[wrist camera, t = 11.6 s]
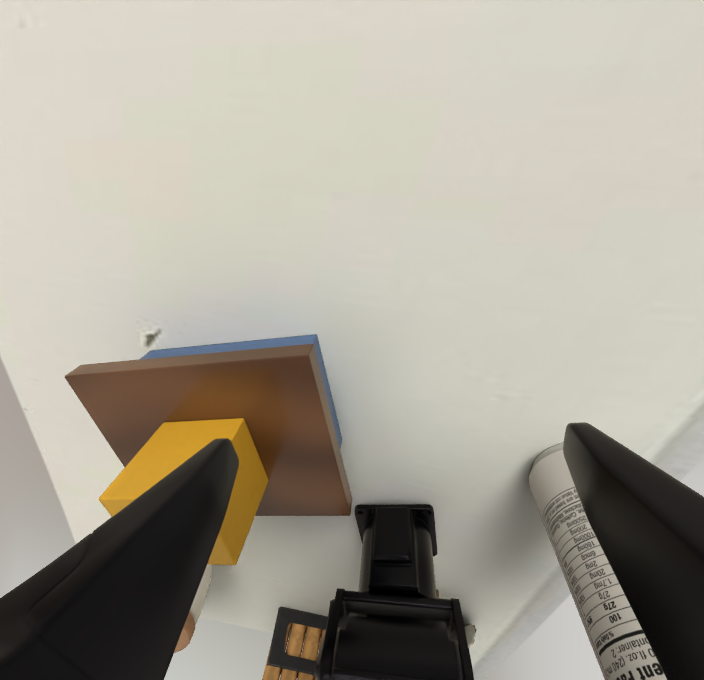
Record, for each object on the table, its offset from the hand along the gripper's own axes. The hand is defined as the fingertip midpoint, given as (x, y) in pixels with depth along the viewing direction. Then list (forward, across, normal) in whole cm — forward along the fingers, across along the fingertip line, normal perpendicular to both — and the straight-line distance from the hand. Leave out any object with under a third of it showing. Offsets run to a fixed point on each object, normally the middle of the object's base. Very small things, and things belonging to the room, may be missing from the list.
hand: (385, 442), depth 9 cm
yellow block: (+7, +11, +7) cm, 15 cm away
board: (+8, +11, +7) cm, 15 cm away
